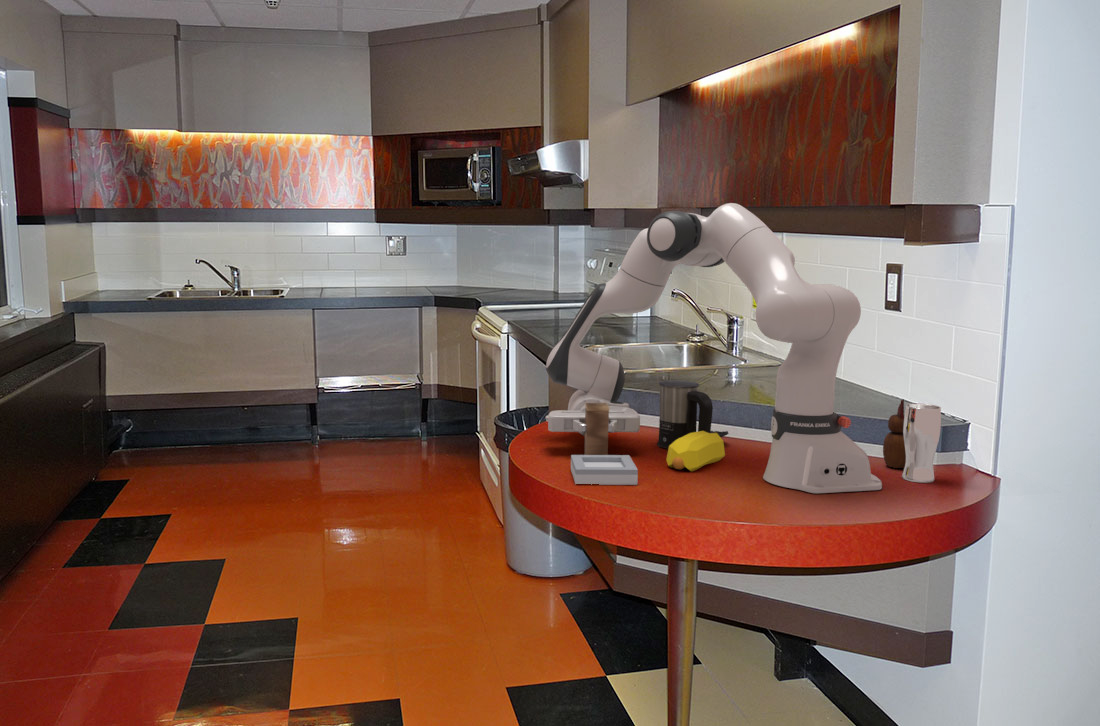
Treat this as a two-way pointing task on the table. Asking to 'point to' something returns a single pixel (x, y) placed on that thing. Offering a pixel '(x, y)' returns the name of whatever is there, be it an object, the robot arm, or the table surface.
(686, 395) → the milk frother
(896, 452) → the wooden figurine
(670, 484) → the table surface
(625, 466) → the plinth base
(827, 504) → the table surface
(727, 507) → the table surface
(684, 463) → the hot dog
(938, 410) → the beer glass
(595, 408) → the column block
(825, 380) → the robot arm
